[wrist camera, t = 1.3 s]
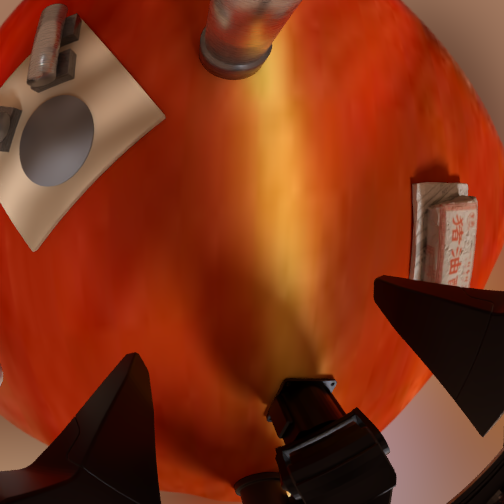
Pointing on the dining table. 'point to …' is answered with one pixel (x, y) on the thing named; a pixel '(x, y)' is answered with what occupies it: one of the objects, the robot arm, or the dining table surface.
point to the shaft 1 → (8, 126)
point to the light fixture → (263, 490)
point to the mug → (1, 375)
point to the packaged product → (443, 233)
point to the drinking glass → (241, 35)
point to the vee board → (68, 135)
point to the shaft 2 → (53, 48)
